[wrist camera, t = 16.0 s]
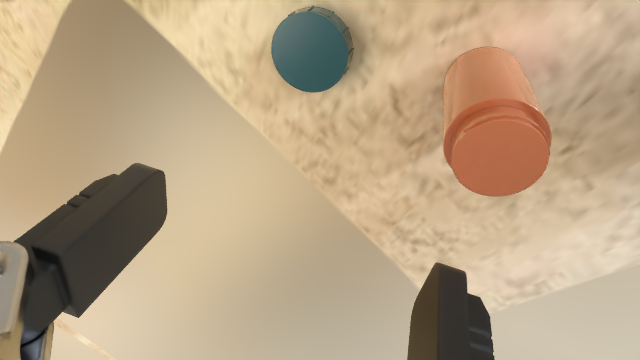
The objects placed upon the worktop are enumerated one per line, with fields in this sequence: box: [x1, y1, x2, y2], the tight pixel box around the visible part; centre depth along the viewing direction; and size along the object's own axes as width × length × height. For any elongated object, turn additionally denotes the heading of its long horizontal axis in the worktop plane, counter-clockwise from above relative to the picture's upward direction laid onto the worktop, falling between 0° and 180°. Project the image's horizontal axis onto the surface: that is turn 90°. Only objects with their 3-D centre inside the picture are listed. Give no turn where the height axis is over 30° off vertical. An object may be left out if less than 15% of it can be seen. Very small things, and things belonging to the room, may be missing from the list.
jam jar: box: [443, 47, 551, 196], centre depth 24 cm, size 5×5×11 cm
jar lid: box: [272, 6, 354, 92], centre depth 29 cm, size 6×6×2 cm
